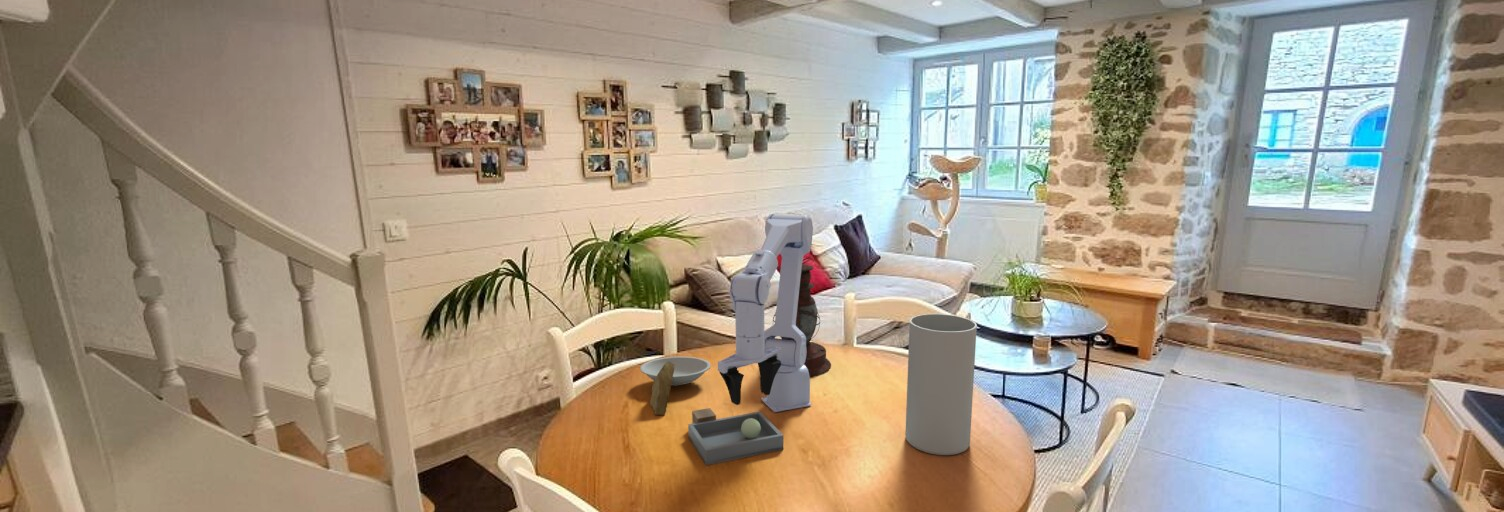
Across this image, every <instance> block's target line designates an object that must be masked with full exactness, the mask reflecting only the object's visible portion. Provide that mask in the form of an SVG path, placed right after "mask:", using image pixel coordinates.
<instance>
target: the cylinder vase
mask: <svg viewBox="0 0 1504 512" xmlns="http://www.w3.org/2000/svg"><path fill="white" fill-rule="evenodd" d="M977 328H978V327H977V323H976V322H975V321H973V320H972V319H970V318H967V317H963V316H960V315H959V316H958V315H956V314H955V315H953V314H944V313H924V314H919V315H915V316H912V317H910V319H909V328H908V353H907V354H908V356H907V359H908V360H907V378H906V379H907V382H906V408H905V431H904V432H905V439H906V441H907V442H908V443H909V445H911V446H912V448H915V449H917V450H919V451H921V452H924V453H926V454H927V453H928V454H931V455H936V456H953V455H958V454H961V453H963V452H965V451H966V450H968V448H969V447H970V445H971V435H972V434H971V433H972V432H971V429H972V416H973V415H972V413H973V396H974V381H975V379H974V378H975V363H976V361H975V360H976V344H977V343H976V342H977Z"/></svg>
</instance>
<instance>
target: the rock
mask: <svg viewBox="0 0 1504 512" xmlns="http://www.w3.org/2000/svg"><path fill="white" fill-rule="evenodd" d="M674 368H675V365H674V364H672V363H671V362H667V363H666V364H664V365H663V367H662V369H661V370H660V371H659V373H658V375H657V376H656V380H655V381H654V380H653V383H652V386H651V396H650V401H649V403H650V406H651V408H652V410H653V411H654V412H653V413H654V415H655V416H656V415H659V416H665V415H666V412H667V408H668V403H669V399H670V392H671V391H670V390H671V387H672V385H671V383H672V378H673V373H674Z"/></svg>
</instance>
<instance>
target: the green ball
mask: <svg viewBox="0 0 1504 512" xmlns="http://www.w3.org/2000/svg"><path fill="white" fill-rule="evenodd" d="M741 431H742V434H743V435H744V436H745V437H746V438H749V439H753V438H756V437H757V436H758V435H759V433H760V431H761V426H760V424H759V422H758V421H757V420H756V419H753V418H749V419H746V420H745V421H744V422H743V423H742V426H741Z"/></svg>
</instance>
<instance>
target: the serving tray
mask: <svg viewBox="0 0 1504 512" xmlns="http://www.w3.org/2000/svg"><path fill="white" fill-rule="evenodd" d="M749 418H753V419H756V420H757V421H758V422H759V424H760V426H761V431H760V433H759V435H758V436H757V437H756V438H753V439H749V438H746V437H745V436H744V435H743V434H742V431H741V426H742V423H743V422H744V421H745V420H746V419H749ZM687 425H688V427H687V428H688V439H689V441H690V442H691V444H692V446H693V447H694V448H695V450H696V451H697V453H698V455H699V457H700V458H701V459H702V461H703V463H704V464H705V466H711V465H715V464H719V463H723V462H729V461H734V460H738V459H743V458H749V457H754V456H757V455H758V456H759V455H763V454H768V453H772V452H778V451H783V450H784V434H783V433H782V432H781V431H780V430H779V429H778V428H777V427H776V426H775V425H774V424H773V422H771V421H770V420H769V419H768V418H767V417H766V416H765V415H764V413H763V412H761V411H755V412H750V413H744V414H738V415H732V416H727V417H722V418H716V419H715V420H709V421H704V422H698V423H693V424H692V423H688V424H687Z"/></svg>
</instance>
